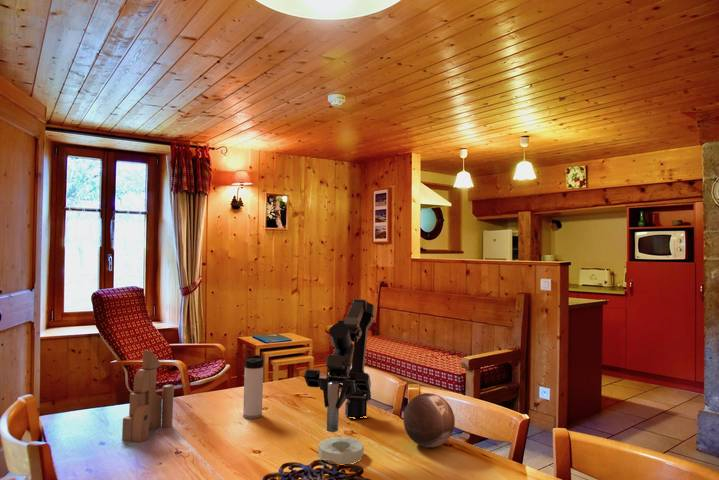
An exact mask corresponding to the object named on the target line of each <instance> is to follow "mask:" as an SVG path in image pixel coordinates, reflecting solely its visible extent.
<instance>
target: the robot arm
mask: <svg viewBox="0 0 719 480" xmlns="http://www.w3.org/2000/svg"><path fill="white" fill-rule="evenodd" d="M348 310H349V311H348V312H347V315H346V317H345V318H343V319H339V320H338V321H337V323H334V324H333V325H331V326H330V327H329V330H328V332H329V337H330V341H331V344H332V347H333V348H334V351H333V354H327V355H326V362H325V367H326V368H327V369H326V372H327V373H322V372H321V371H320V369H314V368H308V369H306V370H305V371H304V375H303V377H304V381H305V383H306V386H307V387H309V388H319V389H320V391H322V392H323V399H324V400H323V402H324V407H325V409H327V397H328V382H330V381H337V382H339V384H342V385H341V390H340V392H339V400H338V405H337V408H338V409H340V408H341V407H342V406H343V404H344V403H345V409H344V410H345V412H344V415H345V414H346V415H347V416H348V417H355V418H360V417H363V416H366V415H367V413H368V412H367V411H368V410H367V408H368V407H367V405H368V401H370V400H372V394H371V393H372V391H371V386H372V383H371V382H372V381H371V377H370V374H369V373H366V372H365V366H366V364H365V363H366V354H367V353H366V352H367V341H368V332H369V329H370V327H371V326H372V325H373V323H374V318H375V316H376V307H375V305H374V304H373V303H370V302H368V301H367V300H366V299H365V298H364V299H361V298H360V299H359V298H354V299H352V300H351V303H350V308H349V309H348ZM345 401H346V402H345ZM346 415H345V416H346ZM347 416H346V417H347ZM348 417H347V418H348ZM363 418H364V417H363ZM350 419H353V418H350ZM350 419H349V420H350Z"/></svg>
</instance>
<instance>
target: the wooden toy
mask: <svg viewBox="0 0 719 480" xmlns="http://www.w3.org/2000/svg"><path fill="white" fill-rule="evenodd" d="M161 366H162V363H161V362H160V361H159V359H158V357H156V355H155V354H154V353H153V352H152V350H151V349H143V350H142V366H141V368H140V369H138V370H137V371H136V373H135V374H134V377H133V392H131V393H130V394H129V406H128V407H129V410H128V411H129V413H128V415H127V416H125V417H122V430H121V431H122V435H121V440H122V441H126V442H136V443H142V442H144V441H146V440H147V439H149V433H150V432H149V431H150V430H155V429H158V428H159V427H161V428H166V429H168V428H171V427H173V421H174V420H173V419H174V418H173V417H174V416H173V415H174V414H173V413H174V394H175V393H174V392H175V391H174V388H175V386H174V385H173V384H165V385H163V386H162V396H160V395H158V394H157V390H156V389H157V369H158V368H159V367H161Z"/></svg>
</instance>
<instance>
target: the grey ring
mask: <svg viewBox="0 0 719 480" xmlns="http://www.w3.org/2000/svg"><path fill="white" fill-rule="evenodd" d="M364 445H365V444H363V442H362V441H361V440H359V439H356V438H353V437H349V436H334V437H327V438H326V439H323V440H321V441H320V443H319V444H318V458H319V459H320V458H321V459H329V460H333V461H335V462H336V463H338V464H351V463H354V462H356V461H358V460H360V459H361V458H362V456H363V457H364V447H365V446H364ZM362 459H363V458H362Z"/></svg>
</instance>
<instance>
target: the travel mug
mask: <svg viewBox="0 0 719 480" xmlns="http://www.w3.org/2000/svg"><path fill="white" fill-rule="evenodd" d="M244 359H245V360H244V377H243V378H244V384H243V412H242V413H243V414H242V417H243V418H245V419H247V420H255V419H259V418H261V417H262V416H263V393H264V357H263V356H260V355H259V354H254V355H251V356H247V357H245V358H244Z"/></svg>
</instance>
